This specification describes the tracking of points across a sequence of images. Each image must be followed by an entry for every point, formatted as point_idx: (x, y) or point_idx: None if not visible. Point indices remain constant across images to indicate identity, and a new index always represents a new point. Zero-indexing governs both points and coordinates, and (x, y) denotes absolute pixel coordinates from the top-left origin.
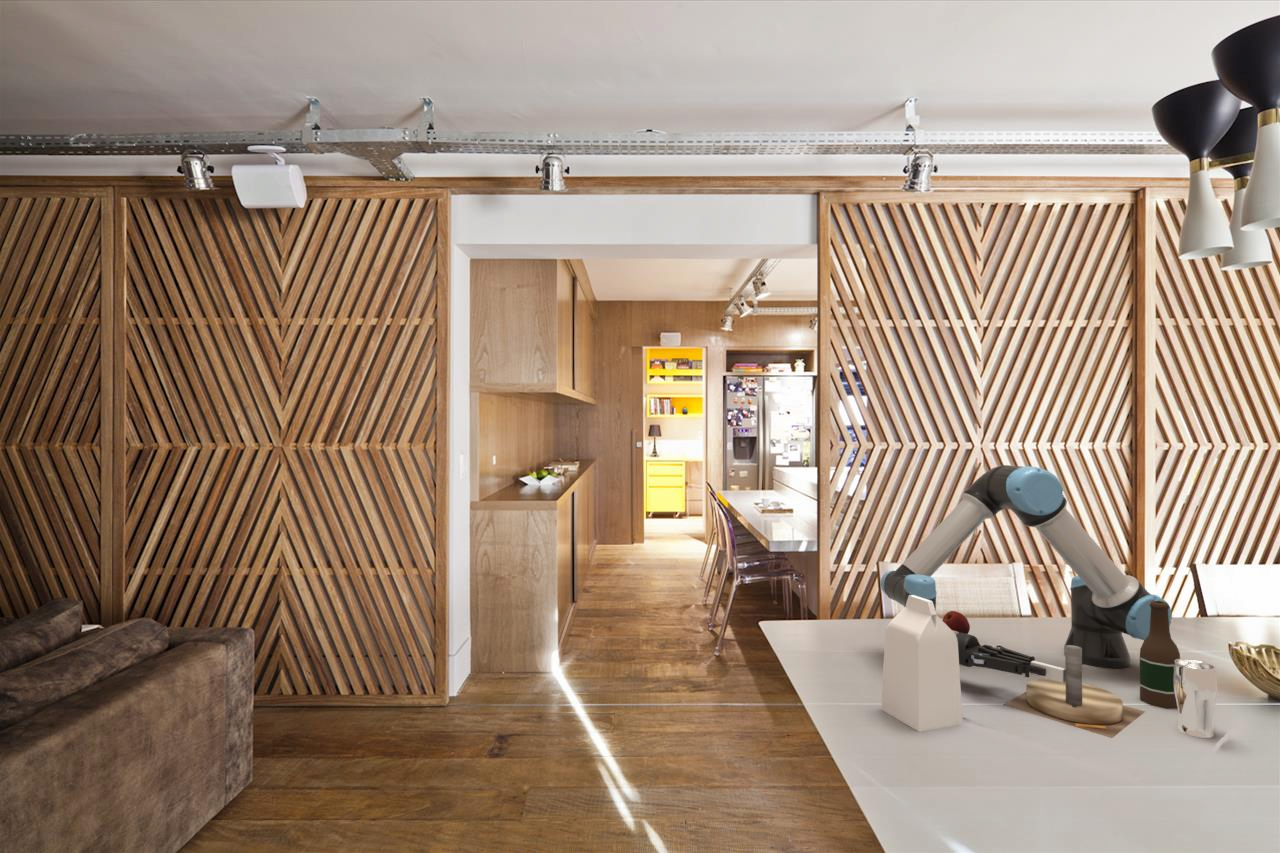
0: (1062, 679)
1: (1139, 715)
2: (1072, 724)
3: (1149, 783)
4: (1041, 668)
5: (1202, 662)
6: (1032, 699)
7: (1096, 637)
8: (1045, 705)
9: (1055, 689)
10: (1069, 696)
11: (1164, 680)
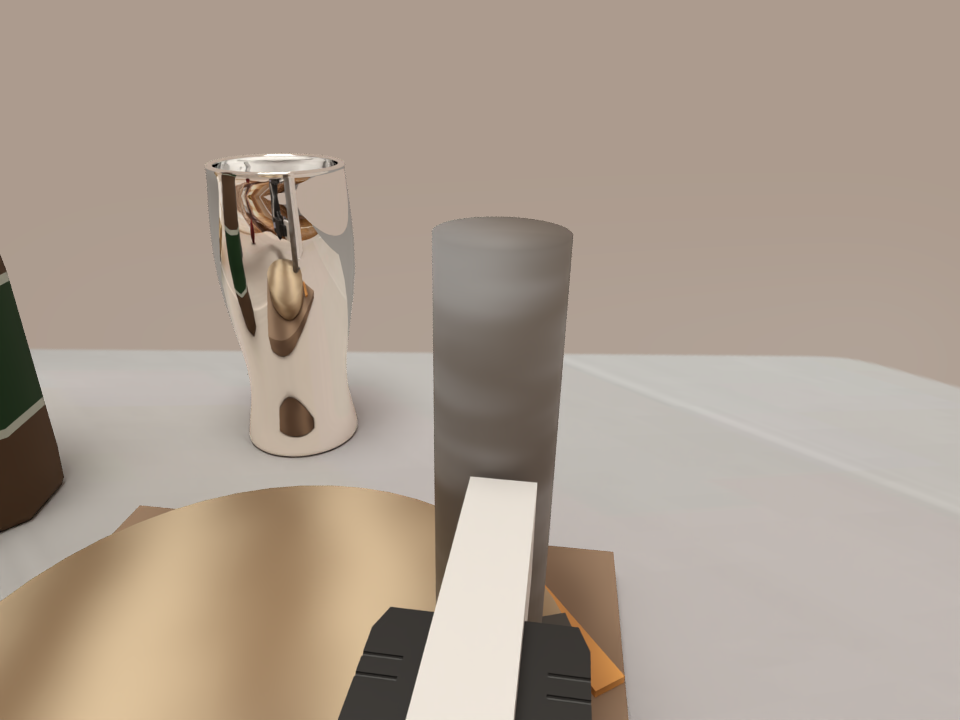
0: (532, 556)
1: None
2: (605, 704)
3: (840, 475)
4: (556, 654)
5: (228, 159)
6: None
7: None
8: None
9: None
10: (541, 611)
11: (24, 352)
